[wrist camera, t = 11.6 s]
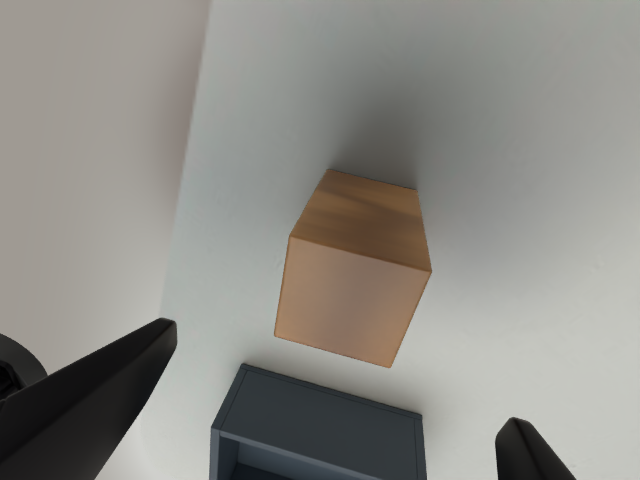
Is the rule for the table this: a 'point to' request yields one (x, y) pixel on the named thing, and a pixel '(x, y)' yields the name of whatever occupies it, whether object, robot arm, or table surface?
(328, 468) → the bin
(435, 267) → the table surface
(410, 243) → the block
